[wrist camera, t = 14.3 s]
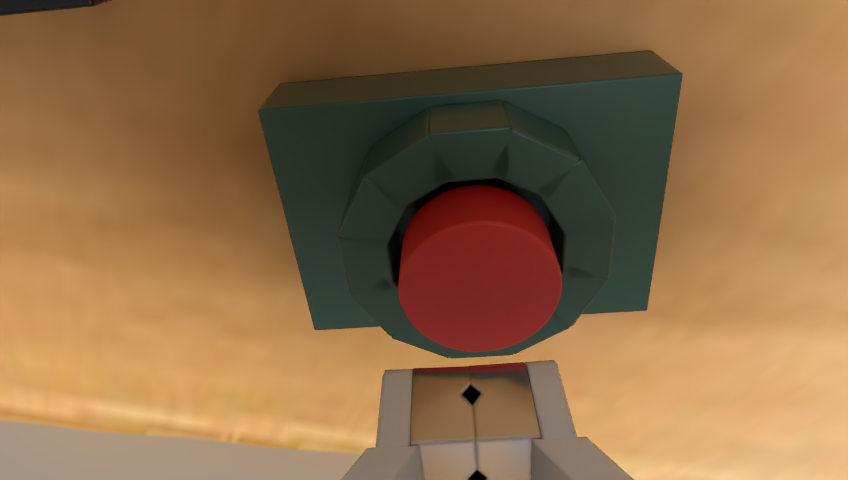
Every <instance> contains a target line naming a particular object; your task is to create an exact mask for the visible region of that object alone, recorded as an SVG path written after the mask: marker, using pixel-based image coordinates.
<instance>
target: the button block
mask: <svg viewBox="0 0 848 480" xmlns="http://www.w3.org/2000/svg"><path fill="white" fill-rule="evenodd" d="M681 81H682V73H681V72H680V71H678V70H677V69H676V68H674V67H673V66H672V65H670V64H669V63H668V62H666V61H665V60H663V59H662V58H661V57H659V56H658V55H657V54H655V53H654V52H653V51H641V52H630V53H619V54H608V55H597V56H586V57H575V58H563V59H552V60H541V61H530V62H519V63H508V64H496V65H485V66H474V67H463V68H452V69H441V70H429V71H418V72H407V73H396V74H385V75H374V76H363V77H351V78H340V79H329V80H318V81H307V82H296V83H284V84H279V85H278V87H277V88H276V89H275V90H274V92H273V93H272V94H271V95H270V96H269V98H268V99H267V100H266V101H265V102H264V104H263V105H262V106H261V107H260V109H259V110H258V113H259V117H260V120H261V124H262V128H263V132H264V136H265V140H266V144H267V148H268V151H269V155H270V159H271V163H272V167H273V171H274V175H275V178H276V182H277V186H278V190H279V194H280V198H281V202H282V205H283V209H284V213H285V217H286V221H287V225H288V229H289V232H290V236H291V240H292V244H293V248H294V252H295V256H296V259H297V263H298V267H299V271H300V275H301V279H302V283H303V286H304V290H305V294H306V298H307V302H308V306H309V310H310V313H311V317H312V321H313V325H314V329H315V330H327V329H344V328H361V327H378V326H381V327H382V328H383V329H384V330H385V331H386V332H387V333H388V334H389V335H390V336H392V338H393V339H396V340H399V341H402V342H405V343H407V344H410V345H413V346H416V347H419V348H422V349H424V350H427V351H430V352H433V353H436V354H438V355H441V356H444V357H447V358H449V357H450V358H467V357H486V356H504V355H513V353H514V354H516V353H518V352H520V351H522V350H524V349H526V348H528V347H531V346H533V345H535V344H537V343H539V342H541V341H543V340H545V339H547V338H549V337H551V336H553V335H555V334H558V333H560V332H562V331H564V330H566V329H568V328H569V327H570V326H572V325H573V324H574V323H575V322H576V320H577V319H578V318H579V317H580V315H581V314H596V313H612V312H629V311H646V310H647V306H648V300H649V293H650V286H651V280H652V273H653V267H654V260H655V253H656V247H657V240H658V234H659V227H660V220H661V214H662V207H663V200H664V194H665V187H666V181H667V174H668V167H669V161H670V154H671V147H672V141H673V134H674V128H675V121H676V114H677V108H678V101H679V95H680V88H681ZM470 185H486V186H494V187H498V188H502V189H505V190H508V191H511V192H513V193H515V194H517V195H519V196H521V197H522V198H523V199H525V200H526V201H528V202H529V203H530V204H531V205H532V206H533V207H534V208H535V209H536V210H537V211H538V213H539V214H540V215H541V217H542V219H543V220H544V222H545V225H546V227H547V230H548V233H549V236H550V239H551V242H552V245H553V248H554V251H555V254H556V257H557V260H558V263H559V266H560V270H561V275H562V291H561V296H560V299H559V303H558V305H557V307H556V309H555V311H554V313H553V315H552V316H551V318H550V319H549V320H548V321H547V323H546V324H545V325H544V326H543V327H542V328H541V329H540V330H539V331H537V332H536V333H535V334H533V335H532V336H531V337H529V338H527V339H526V340H524V341H522V342H520V343H518V344H515V345H513V346H510V347H507V348H504V349H499V350H494V351H486V352H468V351H460V350H455V349H451V348H448V347H445V346H442V345H440V344H438V343H435V342H434V341H432V340H430V339H428V338H427V337H426V336H424V335H423V334H421V333H420V332H419V331H418V330H417V329H416V328H415V327H414V326H413V325H412V323H411V322H410V321H409V319H408V318H407V316H406V314H405V313H404V311H403V308H402V306H401V303H400V299H399V291H398V284H399V274H400V264H401V253H402V243H403V237H404V234H405V231H406V228H407V226H408V224H409V222H410V221H411V219H412V217H413V216H414V215H415V214H416V212H417V211H418V210H419V209H420V208H421V207H422V206H423V205H424V204H425V203H427V202H428V201H430V200H431V199H432V198H434V197H436V196H438V195H439V194H441V193H443V192H446V191H449V190H451V189H455V188H458V187H463V186H470Z"/></svg>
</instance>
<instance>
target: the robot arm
mask: <svg viewBox="0 0 848 480" xmlns="http://www.w3.org/2000/svg"><path fill="white" fill-rule="evenodd" d="M341 480H634V479H633V478H631V477H630V476H629V475H628V474H627V473H626V472H625V471H624V470H623V469H621V468H620V467H619V466H618V465H617V464H616V463H615V462H614V461H613V460H611V459H610V458H609V457H608V456H607V455H606V454H605V453H604V452H603V451H601V450H600V449H599V448H598V447H597V446H596V445H595V444H594V443H593V442H591V441H590V440H589V439H588V438H587V437H577V435H576V431H575V427H574V424H573V420H572V416H571V413H570V409H569V406H568V402H567V398H566V395H565V391H564V387H563V384H562V380H561V377H560V373H559V369H558V366H557V364H556V362H555V361H554V360H549V361H534V362H525V363H524V362H521V363H506V364H492V365H477V366H469V367H442V368H414V369H401V370H385V372H384V375H383V377H382V388H381V398H380V408H379V419H378V429H377V439H376V448H367V449H366V450H365V451H364V453H363V454H362V455H361V456H360V457H359V459H358V460H357V461H356V462H355V463H354V465H353V466H352V467H351V468H350V470H349V471H348V472H347V473H346V474H345V476H344V477H343V478H342V479H341Z"/></svg>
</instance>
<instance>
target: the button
mask: <svg viewBox="0 0 848 480" xmlns="http://www.w3.org/2000/svg"><path fill="white" fill-rule="evenodd" d="M398 291H399V299H400V303H401V306H402V308H403V311H404V313H405V314H406V316H407V318H408V319H409V321H410V322H411V323H412V325H413V326H414V327H415V328H416V329H417V330H418V331H419V332H420V333H421V334H423V335H424V336H426V337H427V338H428V339H430V340H432V341H434V342H435V343H438V344H440V345H442V346H445V347H448V348H451V349H455V350H460V351H468V352H486V351H494V350H499V349H504V348H507V347H510V346H513V345H515V344H518V343H520V342H522V341H524V340H526V339H527V338H529V337H531V336H532V335H533V334H535V333H536V332H537V331H539V330H540V329H541V328H542V327H543V326H544V325H545V324H546V323H547V321H548V320H549V319H550V318H551V316H552V315H553V313H554V311H555V309H556V307H557V305H558V303H559V299H560V296H561V291H562V275H561V270H560V266H559V263H558V260H557V257H556V254H555V251H554V248H553V245H552V242H551V239H550V236H549V233H548V230H547V227H546V225H545V222H544V220H543V219H542V217H541V215H540V214H539V213H538V211H537V210H536V209H535V208H534V207H533V206H532V205H531V204H530V203H529V202H528V201H526V200H525V199H523V198H522V197H521V196H519V195H517V194H515V193H513V192H511V191H508V190H505V189H502V188H498V187H494V186H486V185H470V186H463V187H458V188H455V189H451V190H449V191H446V192H443V193H441V194H439V195H438V196H436V197H434V198H432V199H431V200H430V201H428V202H427V203H425V204H424V205H423V206H422V207H421V208H420V209H419V210H418V211H417V212H416V214H415V215H414V216H413V217H412V219H411V221H410V222H409V224H408V226H407V228H406V231H405V234H404V237H403V243H402V253H401V264H400V274H399V284H398Z"/></svg>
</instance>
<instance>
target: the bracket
mask: <svg viewBox="0 0 848 480" xmlns="http://www.w3.org/2000/svg"><path fill="white" fill-rule="evenodd" d="M108 1H111V0H0V16H3V15H13V14H23V13H33V12H43V11H53V10H63V9H72V8H82V7H92V6H96V5H99V4H102V3H105V2H108Z"/></svg>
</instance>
